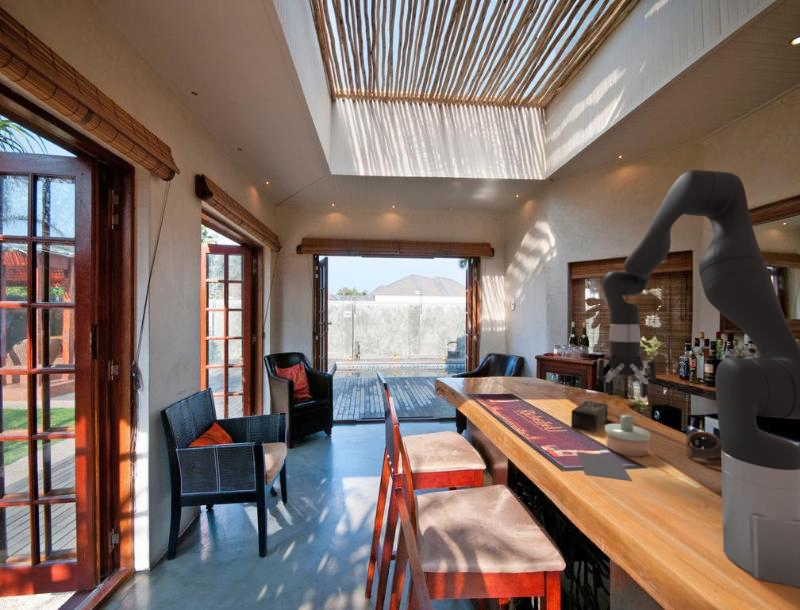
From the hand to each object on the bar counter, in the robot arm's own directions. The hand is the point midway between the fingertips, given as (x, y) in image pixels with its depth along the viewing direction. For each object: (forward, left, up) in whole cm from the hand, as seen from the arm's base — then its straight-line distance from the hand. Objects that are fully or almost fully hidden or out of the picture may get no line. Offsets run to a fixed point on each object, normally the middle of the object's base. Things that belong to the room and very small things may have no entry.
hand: (625, 395), depth 99 cm
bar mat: (-13, +9, -16) cm, 22 cm away
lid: (0, 0, -11) cm, 11 cm away
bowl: (0, 0, -16) cm, 16 cm away
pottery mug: (+3, -19, -17) cm, 26 cm away
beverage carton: (+25, +5, -17) cm, 30 cm away
